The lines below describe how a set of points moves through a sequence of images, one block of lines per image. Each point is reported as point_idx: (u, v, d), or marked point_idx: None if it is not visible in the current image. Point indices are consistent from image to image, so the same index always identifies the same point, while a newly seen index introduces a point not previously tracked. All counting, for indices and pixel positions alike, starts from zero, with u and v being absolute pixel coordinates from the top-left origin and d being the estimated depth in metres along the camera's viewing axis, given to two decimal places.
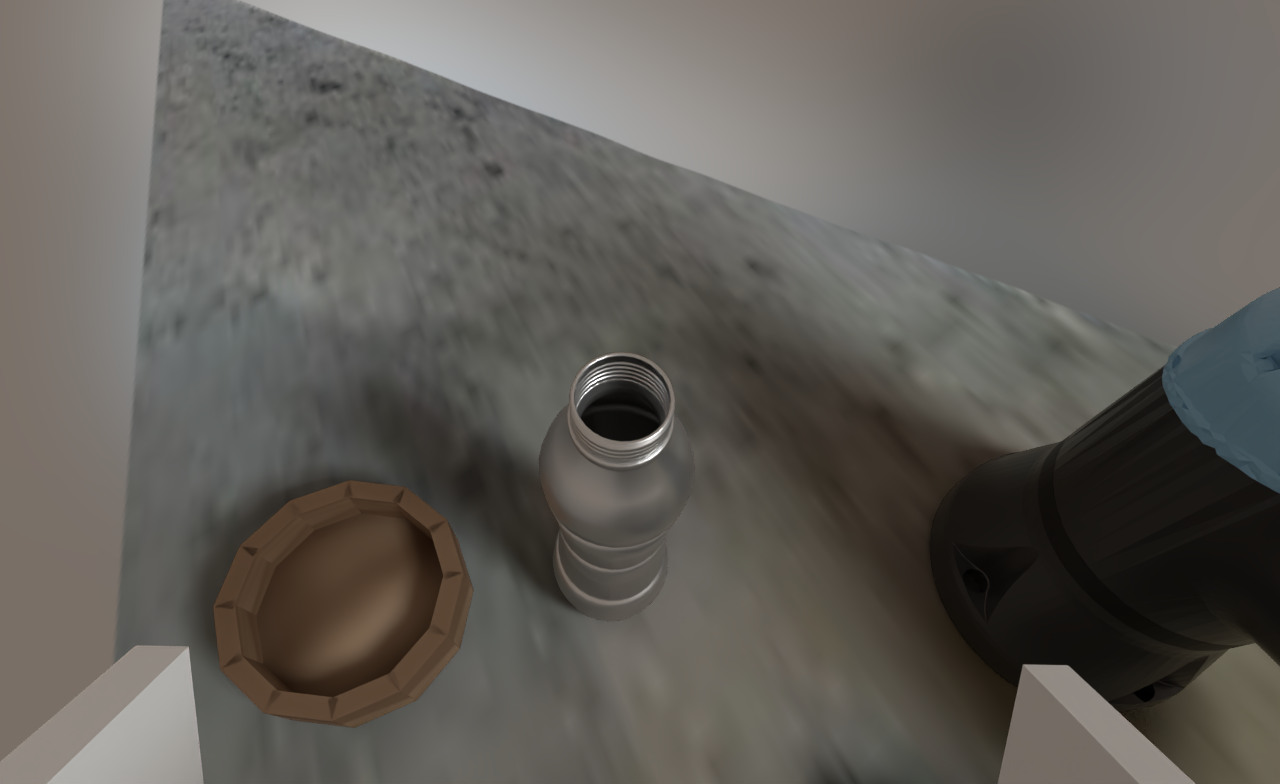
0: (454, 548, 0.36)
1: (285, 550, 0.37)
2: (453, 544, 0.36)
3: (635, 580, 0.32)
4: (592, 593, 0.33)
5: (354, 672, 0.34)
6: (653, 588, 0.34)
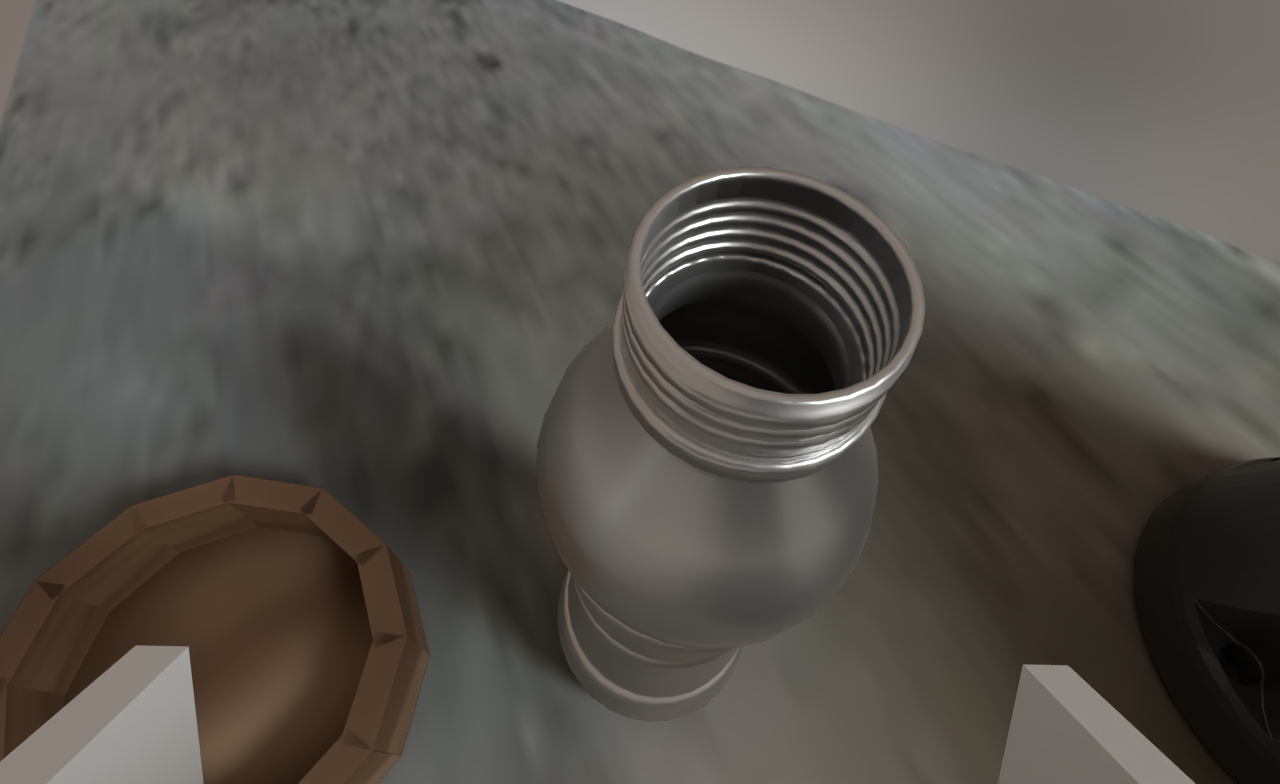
0: (395, 593, 0.21)
1: (125, 585, 0.23)
2: (393, 586, 0.22)
3: (707, 671, 0.18)
4: (626, 686, 0.19)
5: None
6: (727, 673, 0.20)
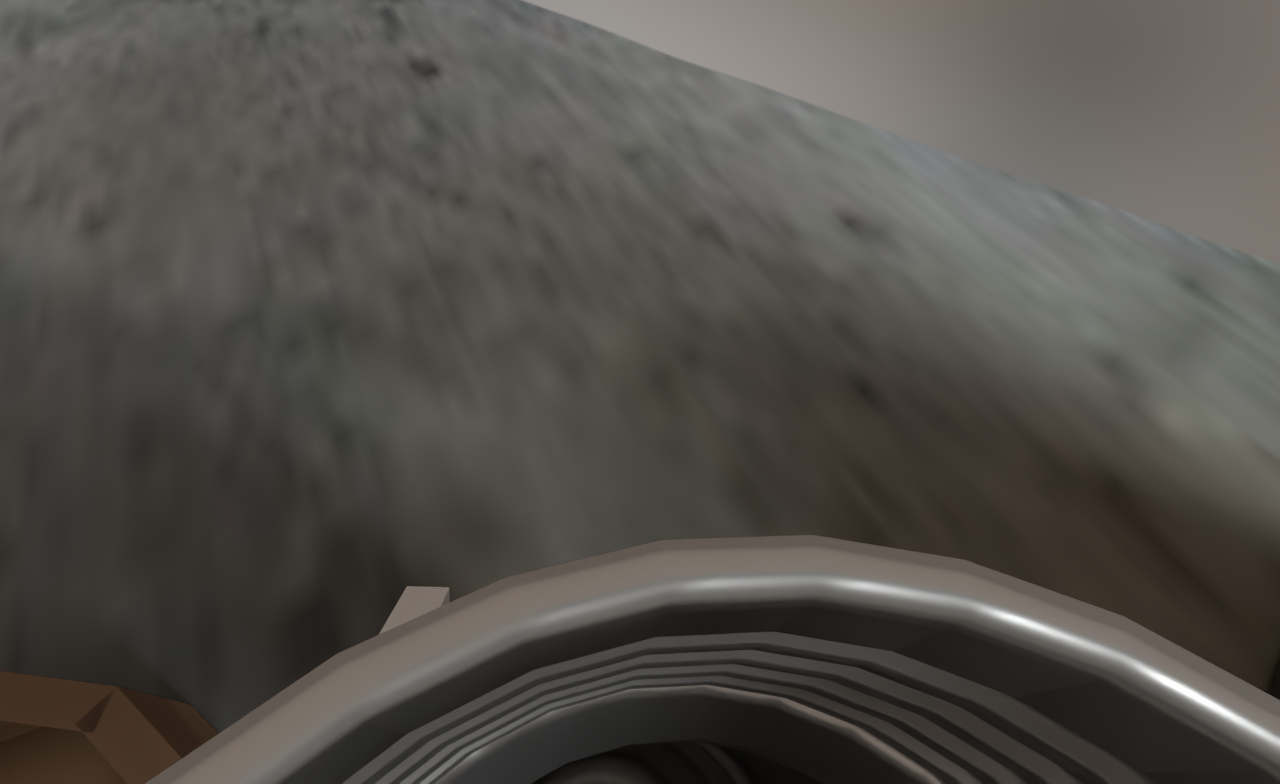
0: None
1: None
2: None
3: None
4: None
5: None
6: None
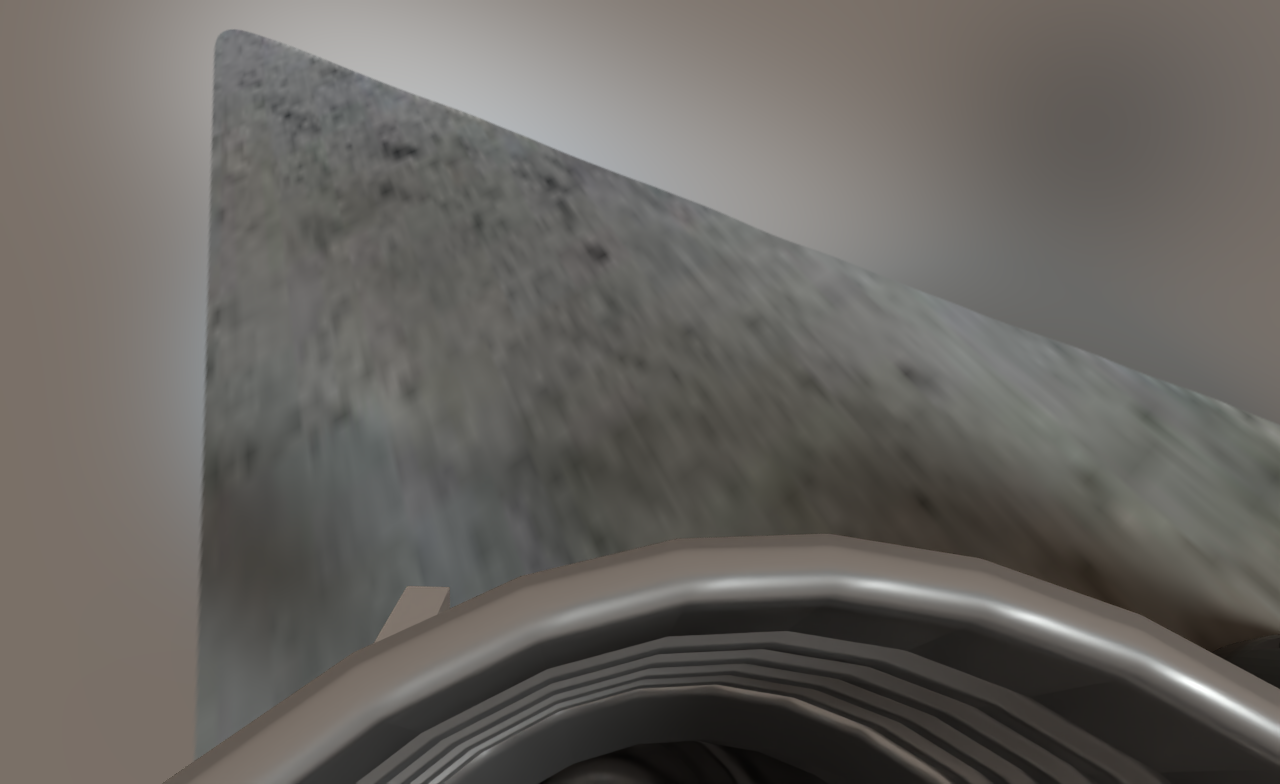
0: None
1: None
2: None
3: None
4: None
5: None
6: None
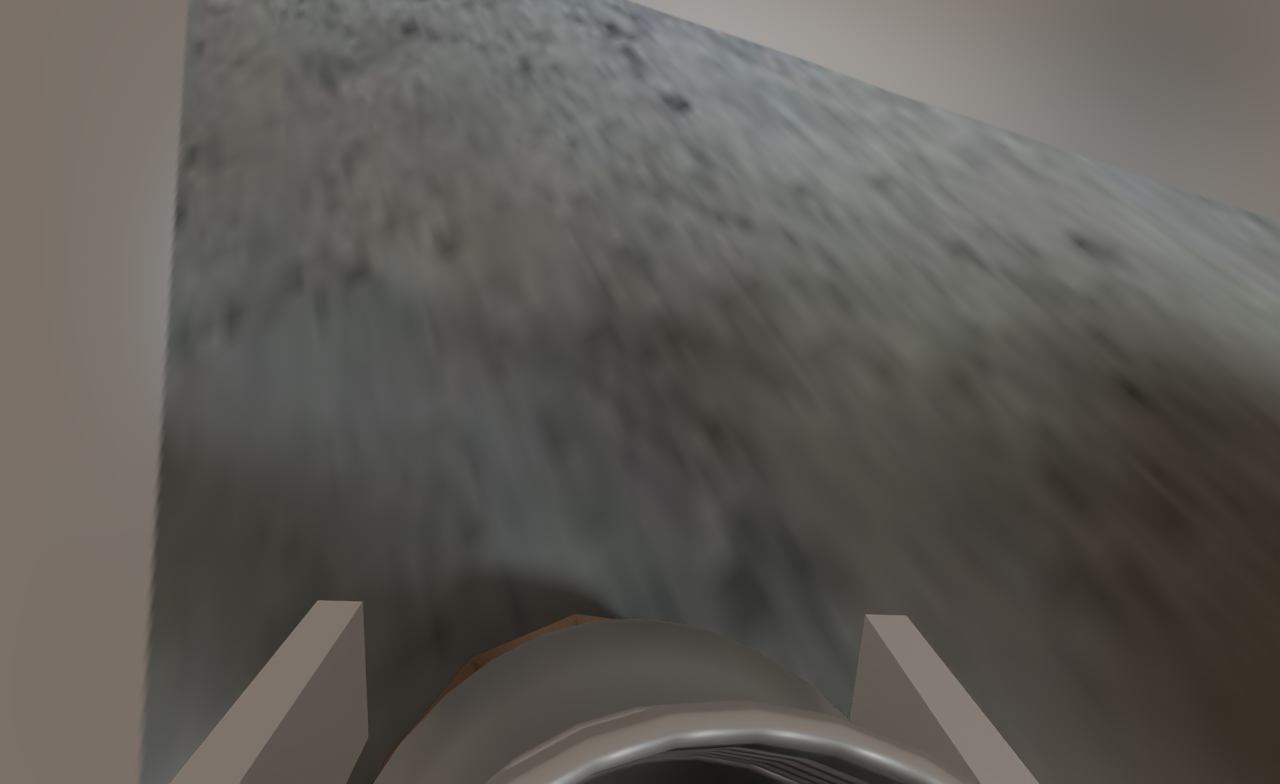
0: None
1: None
2: None
3: None
4: None
5: None
6: None
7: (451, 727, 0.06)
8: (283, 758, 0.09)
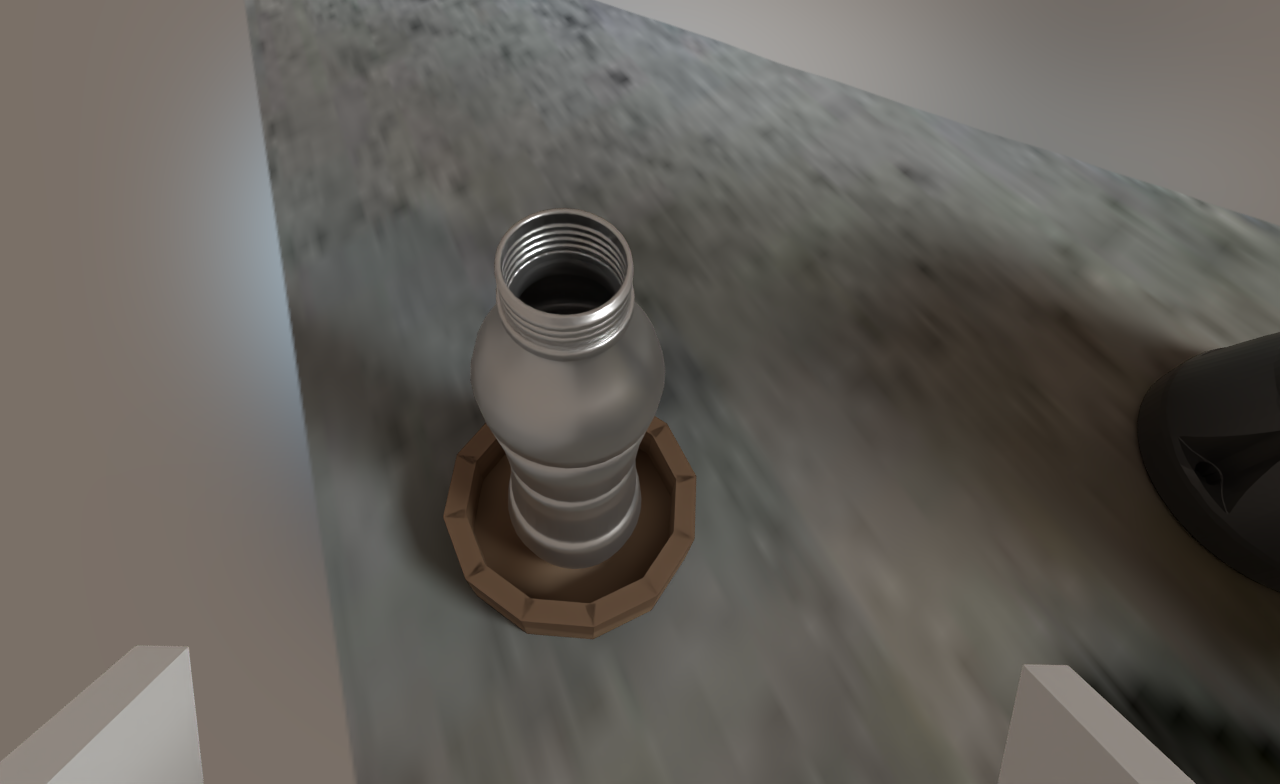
0: (681, 452, 0.34)
1: (493, 462, 0.35)
2: (679, 448, 0.34)
3: (601, 517, 0.27)
4: (551, 535, 0.28)
5: (588, 582, 0.33)
6: (624, 528, 0.30)
7: None
8: None
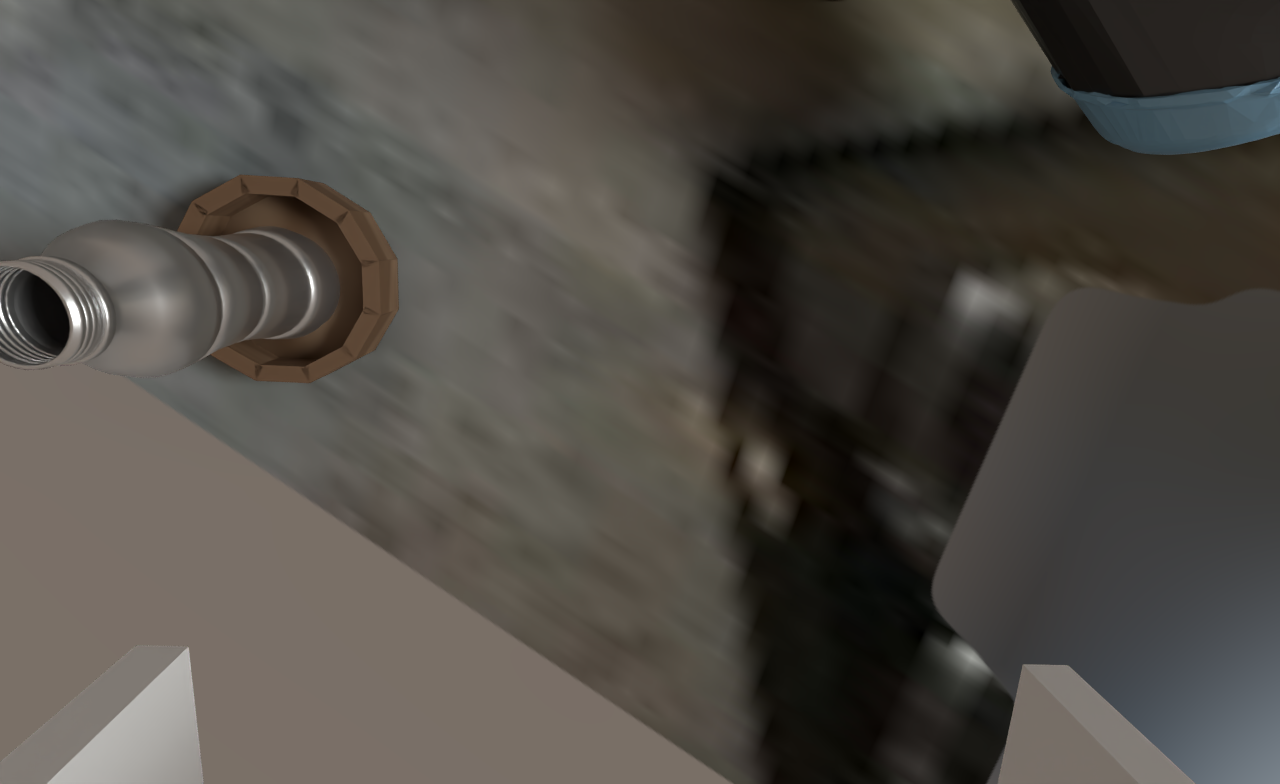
0: (325, 196, 0.38)
1: None
2: (321, 194, 0.38)
3: (285, 315, 0.35)
4: (271, 336, 0.37)
5: (342, 322, 0.42)
6: (319, 294, 0.37)
7: None
8: None
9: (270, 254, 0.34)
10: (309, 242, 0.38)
